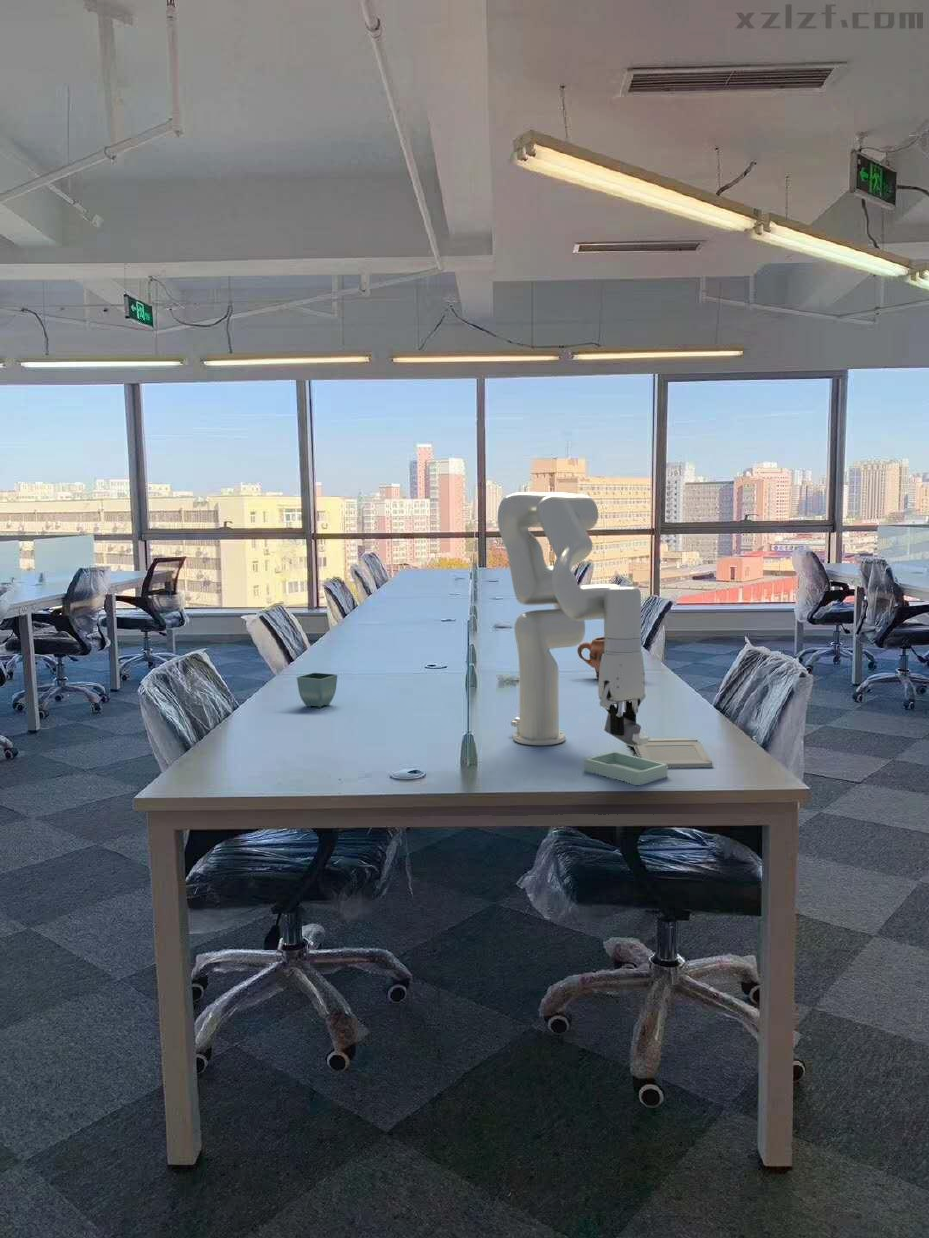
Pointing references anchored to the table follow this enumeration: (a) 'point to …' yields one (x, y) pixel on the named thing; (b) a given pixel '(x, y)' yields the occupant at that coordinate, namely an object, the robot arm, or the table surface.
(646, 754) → the gadget
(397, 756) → the table surface
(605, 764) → the tray
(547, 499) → the robot arm
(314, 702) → the flower pot
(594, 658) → the sculpted clay mug
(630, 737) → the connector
